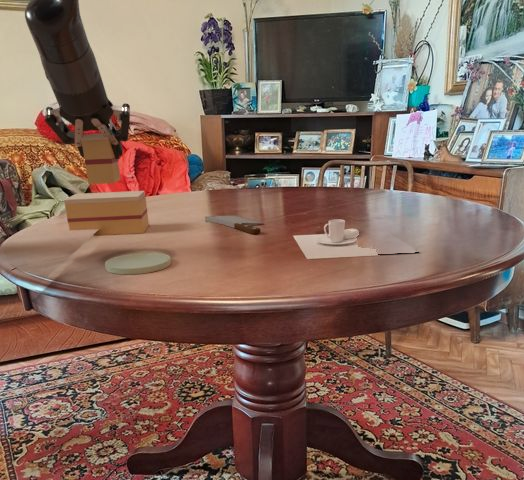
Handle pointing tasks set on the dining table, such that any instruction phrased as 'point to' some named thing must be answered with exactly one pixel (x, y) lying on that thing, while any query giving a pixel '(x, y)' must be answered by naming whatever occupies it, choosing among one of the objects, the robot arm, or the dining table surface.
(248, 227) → the kitchen cleaver
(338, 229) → the teacup and saucer
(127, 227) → the cake
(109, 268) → the plate
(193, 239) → the dining table surface
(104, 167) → the cake slice
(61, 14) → the robot arm
